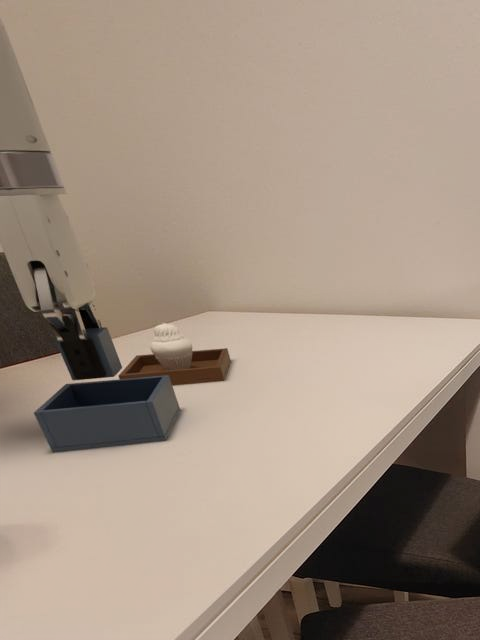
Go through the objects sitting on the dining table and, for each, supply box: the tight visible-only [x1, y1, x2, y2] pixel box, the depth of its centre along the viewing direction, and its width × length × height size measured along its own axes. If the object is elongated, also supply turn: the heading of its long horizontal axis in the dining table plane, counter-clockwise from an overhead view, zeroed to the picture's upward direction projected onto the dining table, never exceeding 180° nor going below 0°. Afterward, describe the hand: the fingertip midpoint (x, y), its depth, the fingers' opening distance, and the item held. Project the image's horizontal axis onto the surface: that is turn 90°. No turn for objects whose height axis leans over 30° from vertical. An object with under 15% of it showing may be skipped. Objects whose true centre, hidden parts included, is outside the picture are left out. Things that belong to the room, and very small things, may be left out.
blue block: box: [54, 326, 123, 381], centre depth 68 cm, size 4×4×4 cm
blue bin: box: [33, 375, 181, 454], centre depth 72 cm, size 12×12×5 cm
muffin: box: [149, 322, 193, 370], centre depth 92 cm, size 6×6×7 cm
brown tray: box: [118, 347, 232, 386], centre depth 94 cm, size 15×14×2 cm
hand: (96, 370), depth 70 cm, fingers closed on blue block, 4 cm apart
